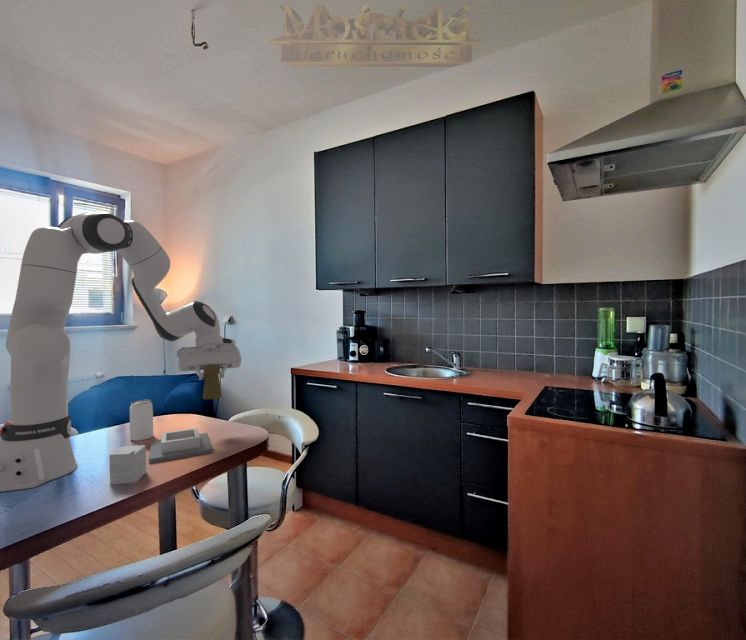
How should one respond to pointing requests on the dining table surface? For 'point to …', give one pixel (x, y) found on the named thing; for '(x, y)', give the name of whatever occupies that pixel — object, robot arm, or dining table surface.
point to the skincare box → (127, 464)
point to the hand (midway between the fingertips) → (212, 377)
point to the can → (141, 420)
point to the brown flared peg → (211, 382)
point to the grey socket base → (179, 445)
